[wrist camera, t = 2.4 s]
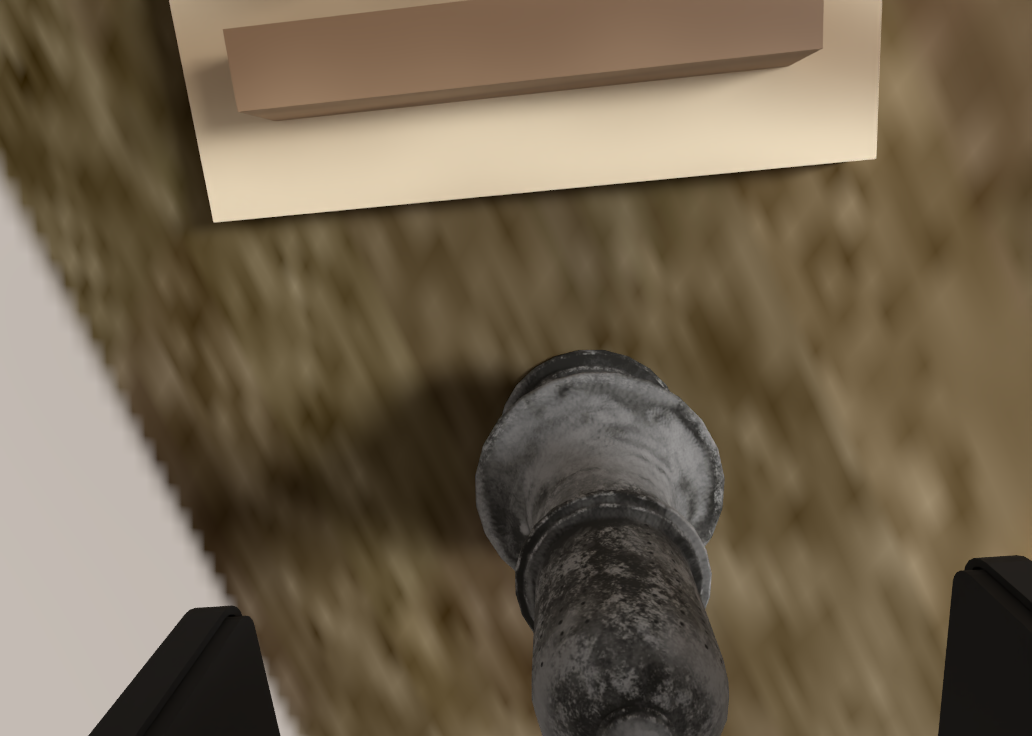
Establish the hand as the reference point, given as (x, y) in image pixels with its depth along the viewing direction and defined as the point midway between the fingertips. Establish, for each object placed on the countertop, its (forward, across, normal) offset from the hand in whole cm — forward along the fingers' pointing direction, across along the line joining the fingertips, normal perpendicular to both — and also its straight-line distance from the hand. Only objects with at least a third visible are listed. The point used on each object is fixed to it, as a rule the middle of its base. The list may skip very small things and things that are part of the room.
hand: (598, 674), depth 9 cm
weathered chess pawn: (+11, -1, +1) cm, 11 cm away
